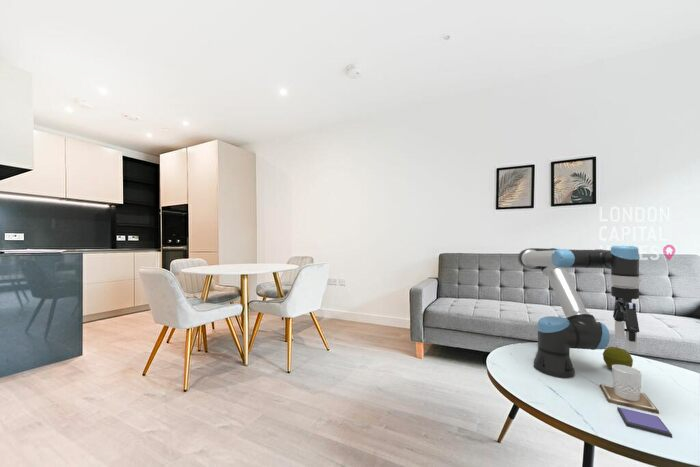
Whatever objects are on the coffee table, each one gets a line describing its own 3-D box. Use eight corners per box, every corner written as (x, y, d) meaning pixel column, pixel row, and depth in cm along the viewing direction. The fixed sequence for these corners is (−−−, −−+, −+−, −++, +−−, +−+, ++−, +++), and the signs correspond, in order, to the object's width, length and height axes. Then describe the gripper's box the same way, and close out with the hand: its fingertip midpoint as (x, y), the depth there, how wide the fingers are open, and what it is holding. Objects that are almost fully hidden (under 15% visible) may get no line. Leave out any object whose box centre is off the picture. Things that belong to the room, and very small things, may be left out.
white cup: (606, 391, 108) (606, 364, 108) (625, 390, 109) (624, 364, 109) (628, 402, 100) (627, 374, 100) (648, 401, 101) (647, 373, 101)
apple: (613, 374, 124) (612, 349, 124) (597, 364, 134) (597, 341, 134) (639, 376, 122) (638, 350, 123) (621, 366, 132) (621, 342, 132)
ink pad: (626, 426, 89) (626, 421, 89) (617, 409, 98) (617, 406, 98) (672, 437, 84) (672, 433, 84) (658, 419, 92) (658, 415, 93)
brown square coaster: (608, 402, 102) (608, 398, 102) (599, 386, 113) (599, 383, 113) (658, 413, 96) (658, 410, 96) (644, 395, 107) (644, 392, 107)
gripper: (652, 293, 93) (652, 358, 93) (627, 283, 114) (628, 335, 114) (621, 291, 97) (621, 353, 97) (603, 281, 118) (603, 332, 118)
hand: (625, 343), depth 105 cm, fingers open, 13 cm apart
